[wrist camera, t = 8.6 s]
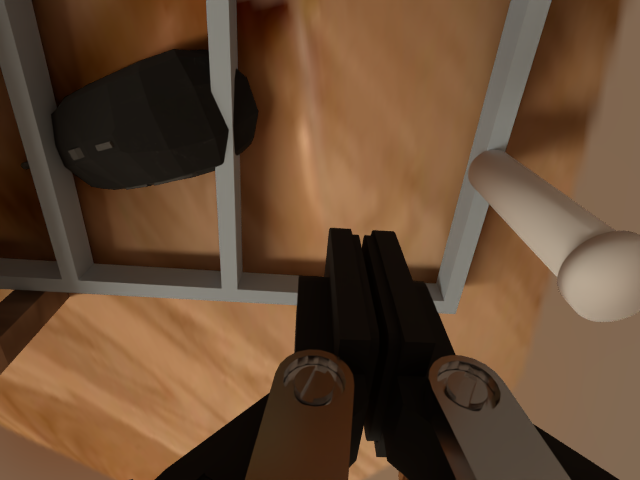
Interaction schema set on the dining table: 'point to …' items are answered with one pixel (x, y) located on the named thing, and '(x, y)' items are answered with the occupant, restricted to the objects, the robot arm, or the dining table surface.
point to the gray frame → (231, 282)
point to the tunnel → (24, 319)
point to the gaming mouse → (150, 123)
